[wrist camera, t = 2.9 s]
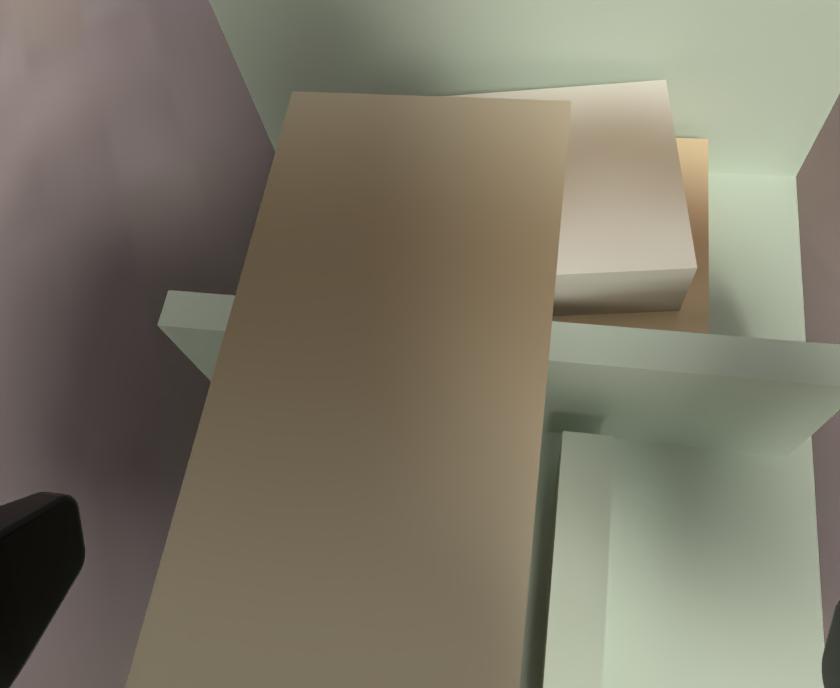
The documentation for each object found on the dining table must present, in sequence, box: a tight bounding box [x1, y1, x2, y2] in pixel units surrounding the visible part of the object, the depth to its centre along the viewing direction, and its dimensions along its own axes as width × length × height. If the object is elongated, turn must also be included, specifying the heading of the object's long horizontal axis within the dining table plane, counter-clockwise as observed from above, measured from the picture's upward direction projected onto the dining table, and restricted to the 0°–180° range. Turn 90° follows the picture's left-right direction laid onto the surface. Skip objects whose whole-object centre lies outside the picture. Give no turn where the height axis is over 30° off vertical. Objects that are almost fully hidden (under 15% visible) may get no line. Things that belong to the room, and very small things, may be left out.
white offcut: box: [444, 80, 697, 316], centre depth 17 cm, size 5×7×2 cm, turn 89°
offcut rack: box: [130, 0, 840, 688], centre depth 15 cm, size 18×14×7 cm
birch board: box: [125, 91, 571, 688], centre depth 11 cm, size 6×2×12 cm, turn 171°
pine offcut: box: [552, 138, 709, 334], centre depth 19 cm, size 6×9×2 cm, turn 81°
